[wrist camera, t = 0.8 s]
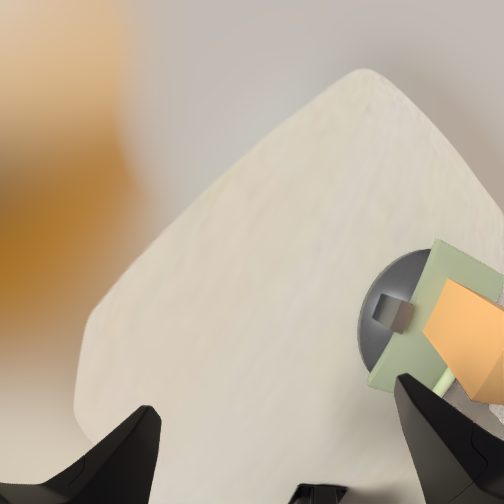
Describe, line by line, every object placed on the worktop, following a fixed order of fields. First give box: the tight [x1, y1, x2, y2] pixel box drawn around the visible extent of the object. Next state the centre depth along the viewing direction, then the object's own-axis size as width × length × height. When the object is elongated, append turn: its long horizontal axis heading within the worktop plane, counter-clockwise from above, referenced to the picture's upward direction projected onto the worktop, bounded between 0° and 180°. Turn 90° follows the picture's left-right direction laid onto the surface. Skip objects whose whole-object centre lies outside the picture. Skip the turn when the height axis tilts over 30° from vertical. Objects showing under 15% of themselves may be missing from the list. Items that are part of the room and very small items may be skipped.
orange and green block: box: [367, 239, 504, 406], centre depth 14 cm, size 14×10×11 cm
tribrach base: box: [358, 249, 431, 373], centre depth 20 cm, size 15×15×6 cm
